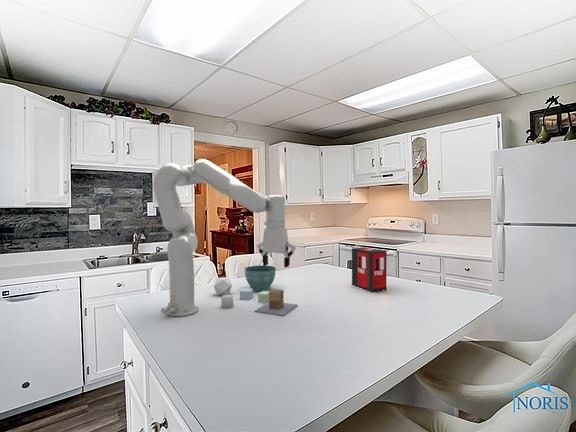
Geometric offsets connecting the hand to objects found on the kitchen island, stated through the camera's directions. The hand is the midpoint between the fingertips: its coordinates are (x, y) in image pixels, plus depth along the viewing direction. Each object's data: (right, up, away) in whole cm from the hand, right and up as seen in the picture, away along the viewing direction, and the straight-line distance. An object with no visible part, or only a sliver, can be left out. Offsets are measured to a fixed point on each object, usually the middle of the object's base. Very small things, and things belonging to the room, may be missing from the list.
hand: (275, 266), depth 135 cm
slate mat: (0, -18, +1) cm, 18 cm away
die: (-27, -18, +24) cm, 40 cm away
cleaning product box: (+47, -17, +33) cm, 60 cm away
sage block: (-5, -18, +12) cm, 22 cm away
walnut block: (0, -17, +1) cm, 17 cm away
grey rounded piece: (-21, -18, +5) cm, 28 cm away
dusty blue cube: (-14, -18, +17) cm, 28 cm away
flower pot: (-9, -17, +33) cm, 39 cm away
